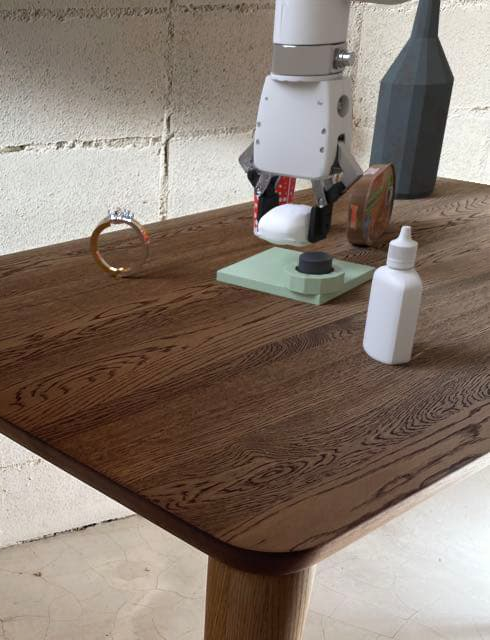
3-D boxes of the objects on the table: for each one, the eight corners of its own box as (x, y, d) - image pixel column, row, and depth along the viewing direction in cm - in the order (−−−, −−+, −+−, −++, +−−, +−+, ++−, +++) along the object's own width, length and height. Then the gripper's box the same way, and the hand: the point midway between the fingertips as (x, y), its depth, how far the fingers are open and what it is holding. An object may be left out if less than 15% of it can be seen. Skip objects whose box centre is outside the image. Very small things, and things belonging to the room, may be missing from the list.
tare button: (337, 271, 96) (339, 255, 95) (319, 279, 94) (321, 263, 93) (309, 264, 99) (310, 249, 98) (291, 273, 97) (292, 257, 96)
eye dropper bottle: (408, 345, 85) (431, 219, 78) (409, 368, 81) (433, 237, 74) (362, 342, 86) (381, 217, 80) (360, 364, 82) (380, 235, 75)
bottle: (353, 194, 133) (384, -41, 116) (381, 180, 139) (414, -45, 122) (419, 202, 128) (461, -43, 111) (445, 188, 134) (488, -47, 117)
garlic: (286, 226, 107) (289, 194, 104) (334, 236, 103) (338, 202, 100) (247, 242, 102) (249, 208, 100) (295, 252, 98) (299, 218, 96)
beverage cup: (272, 224, 122) (281, 114, 114) (303, 234, 117) (314, 120, 109) (238, 232, 119) (245, 120, 111) (268, 242, 115) (277, 127, 107)
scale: (380, 278, 101) (384, 253, 100) (321, 309, 94) (324, 282, 92) (274, 255, 110) (276, 231, 108) (212, 282, 103) (213, 257, 101)
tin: (363, 254, 109) (372, 183, 104) (338, 251, 111) (346, 181, 106) (392, 223, 120) (403, 157, 115) (369, 221, 121) (378, 156, 116)
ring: (151, 276, 106) (151, 207, 101) (142, 284, 103) (141, 214, 99) (98, 270, 108) (96, 204, 104) (88, 278, 106) (85, 210, 101)
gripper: (401, 61, 89) (375, 240, 99) (260, 54, 99) (249, 216, 109) (363, 70, 85) (340, 256, 95) (219, 62, 95) (213, 230, 105)
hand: (291, 233), depth 102 cm, fingers closed on garlic, 6 cm apart
